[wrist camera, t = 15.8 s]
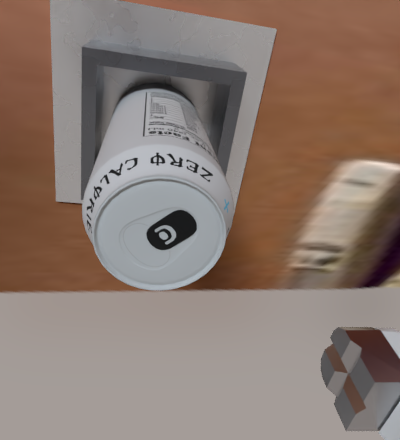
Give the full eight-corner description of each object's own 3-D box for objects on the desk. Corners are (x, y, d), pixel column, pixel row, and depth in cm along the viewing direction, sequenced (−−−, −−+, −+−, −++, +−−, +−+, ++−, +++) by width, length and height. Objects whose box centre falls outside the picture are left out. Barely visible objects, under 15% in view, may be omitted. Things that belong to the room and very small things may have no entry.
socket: (53, -12, 23) (31, -15, 18) (272, 28, 25) (297, 33, 21) (58, 195, 29) (43, 228, 25) (231, 210, 32) (244, 242, 28)
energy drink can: (94, 114, 26) (35, 223, 13) (166, 61, 25) (182, 122, 12) (147, 180, 28) (144, 325, 15) (214, 136, 27) (270, 252, 14)
